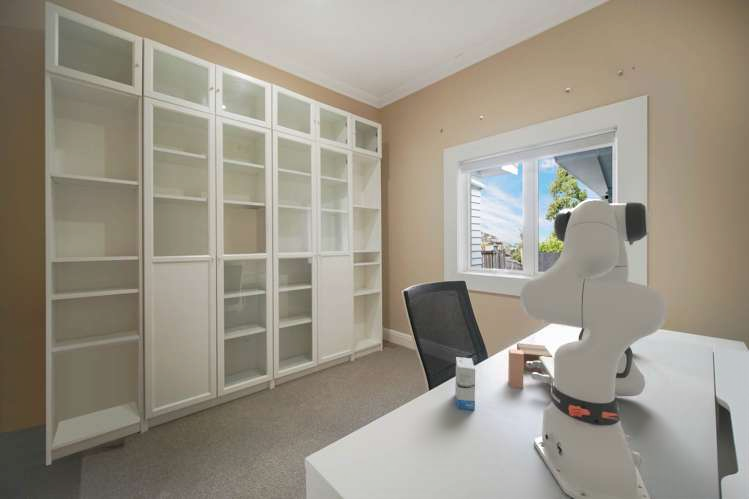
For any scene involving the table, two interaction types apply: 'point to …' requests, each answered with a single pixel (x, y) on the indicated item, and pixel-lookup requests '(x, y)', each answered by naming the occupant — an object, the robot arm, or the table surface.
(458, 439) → the table surface
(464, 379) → the ink box
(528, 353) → the block
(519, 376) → the terracotta block
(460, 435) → the table surface
